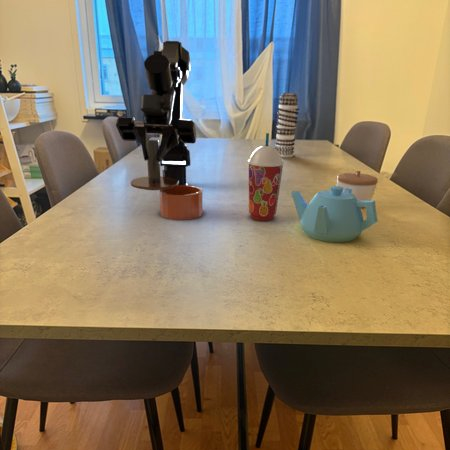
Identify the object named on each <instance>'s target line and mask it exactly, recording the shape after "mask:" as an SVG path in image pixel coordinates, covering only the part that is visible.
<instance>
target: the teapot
mask: <svg viewBox="0 0 450 450" xmlns="http://www.w3.org/2000/svg"><path fill="white" fill-rule="evenodd" d="M343 189H344V188H343V187H341V186H337V185H331V186H330V189H329V190H328V189H327V190H320V191H318V192H316V194H315V195H314V196H313V197H312V198H311V200H310V201H309V203H307V202H306V201H305V199H304V198H303V195H302V193H301V192H300V191H298V190H293V191H291V192H290V193H291V197H292V200H293V203H294V206H295V209H296V212H297V215H298V219H299V221H300V228H301V229H302V230H303V232H304V233H305V234H306V236H308V237H310V238H311V239H315V240H317V241H321V242H327V243H347V242H352V241H353V240H355V239H356V238H358V236H360V235H361V234H362V233H363V231H365V230H367V229H369V228H371V227H372V226H374V225H375V224H376V223H378V221H379V220H378V213H377V206H376V200H374V199H371V200H359V201H357V199H356V197H355V196H354V195H353V194H351V192H352V189H348V188H347V189H345V190H344V192H343ZM360 207H362V208H365V213H366V214H365V215H366V217H365V218H366V219H364V214H363V211H362V208H360Z"/></svg>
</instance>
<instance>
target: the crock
mask: <svg viewBox="0 0 450 450" xmlns="http://www.w3.org/2000/svg"><path fill="white" fill-rule="evenodd" d="M158 193H159V211H160V215H161V216H162V217H163V218H166V219H168V220H169V219H170V220H176V221H177V220H178V221H181V220H183V221H184V220H185V221H186V220H194V219H197V218H200V217H202V215H203V188H200V187H199V186H195V185H189V184H188V185H177V186H176V187H173V188H169V189H164V190H158Z"/></svg>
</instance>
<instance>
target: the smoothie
mask: <svg viewBox="0 0 450 450" xmlns="http://www.w3.org/2000/svg"><path fill="white" fill-rule="evenodd" d="M269 139H270V133H269V132H266V133H265V144H264V145H261V146H259V147H257V148H255V150H254V151H253V152H252V154H251V155H250V158H249V159H248V160H247V161H248V163H247V164H248V213H249V214H250V218H251V219H253V220H256V221H260V222H261V221H262V222H268V221H272V220H273V219H274V218H275V215H276V214H277V210H278V202H279V195H280V190H281V189H280V187H281V181H282V175H283V166H284V161H283V160H282V157H281V156H280V154H279V152H278V151H277V150H276V149H275V147H273V146H271V145H269Z"/></svg>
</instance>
